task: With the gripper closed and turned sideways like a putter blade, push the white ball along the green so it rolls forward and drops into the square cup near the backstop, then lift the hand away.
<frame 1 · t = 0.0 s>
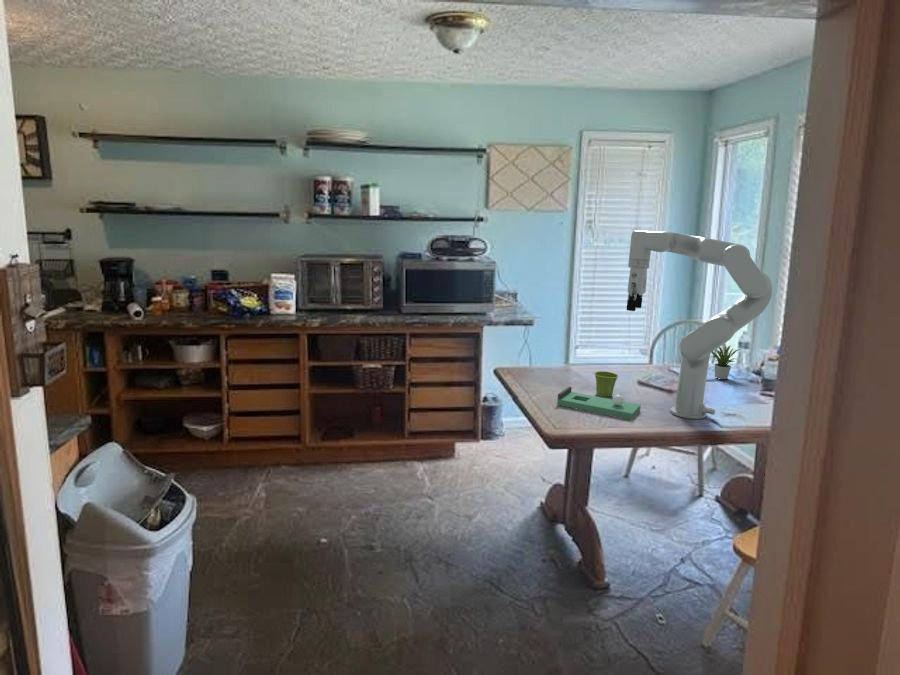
hand: (633, 309, 247), 37 cm above the table, tool pointing down, fingers open, 9 cm apart
green: (598, 408, 245), on the table
ball: (618, 400, 241), point 4 cm above the table, touching green
plant pot: (604, 395, 263), on the table
house plant: (723, 378, 300), on the table
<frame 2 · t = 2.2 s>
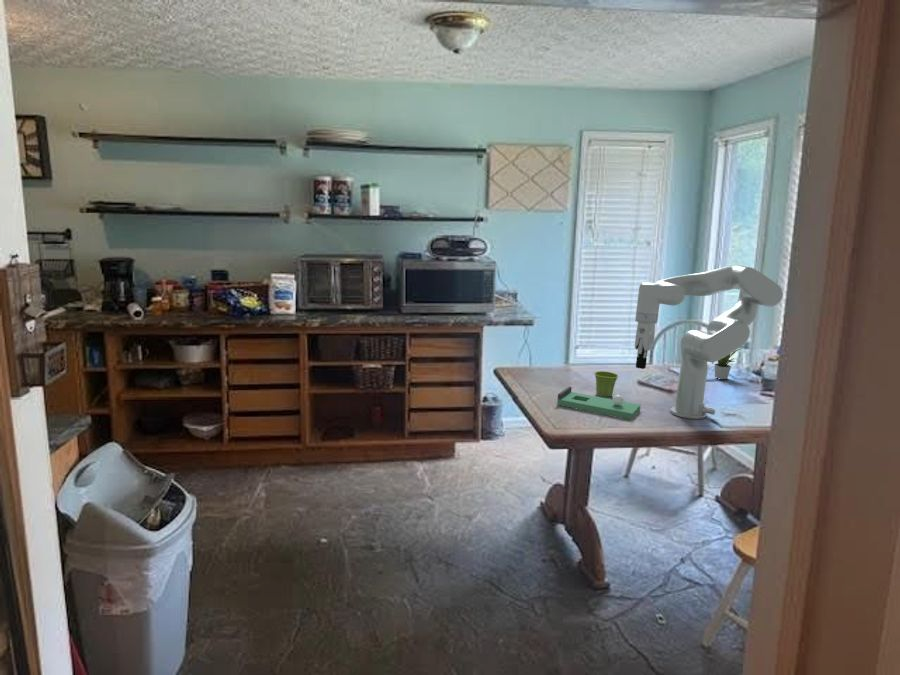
hand: (640, 367, 235), 18 cm above the table, tool pointing down, fingers closed
nothing on the table moved.
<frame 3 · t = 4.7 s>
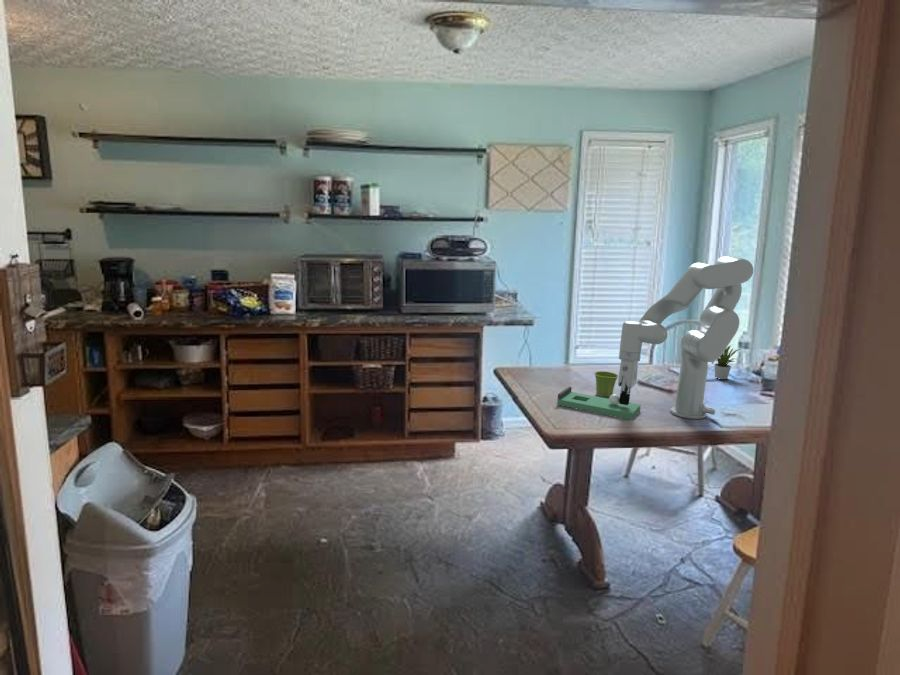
hand: (624, 403, 240), 4 cm above the table, tool pointing down, fingers closed
ball: (614, 399, 241), point 4 cm above the table, tilted 37°, touching green
everything else where it was.
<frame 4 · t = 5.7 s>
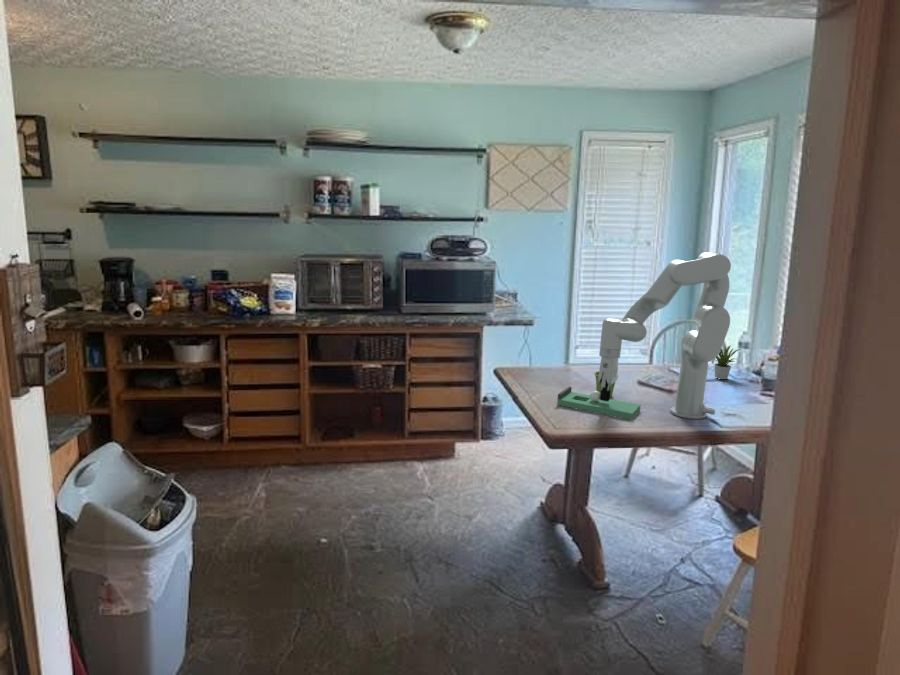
hand: (604, 400, 243), 4 cm above the table, tool pointing down, fingers closed
ball: (595, 396, 245), point 4 cm above the table, tilted 119°, touching green
everything else where it was.
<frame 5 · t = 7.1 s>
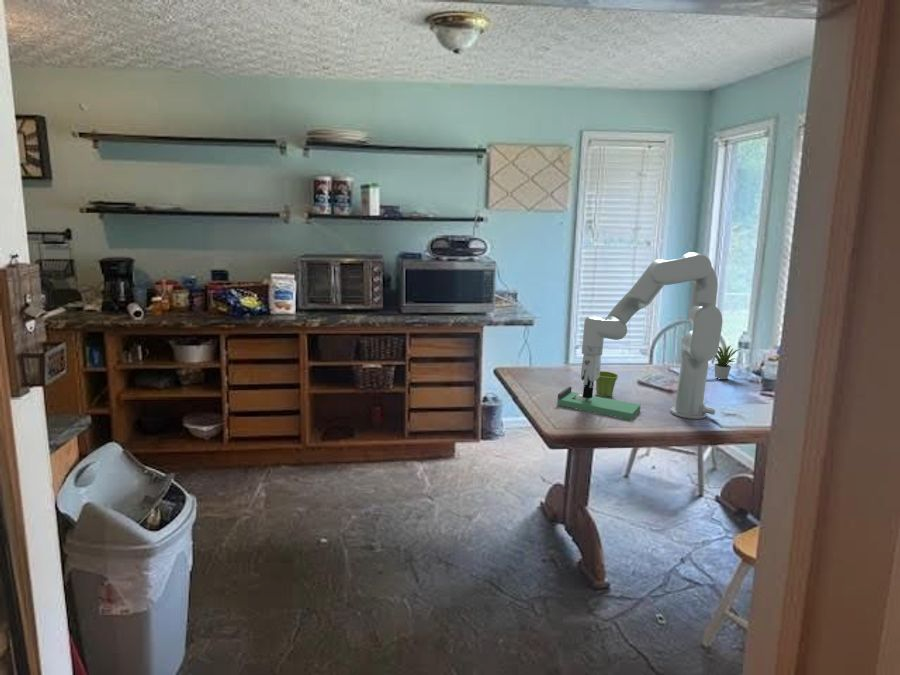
hand: (587, 397, 246), 3 cm above the table, tool pointing down, fingers closed
ball: (580, 399, 248), point 2 cm above the table, tilted 74°, touching gripper
everything else where it was.
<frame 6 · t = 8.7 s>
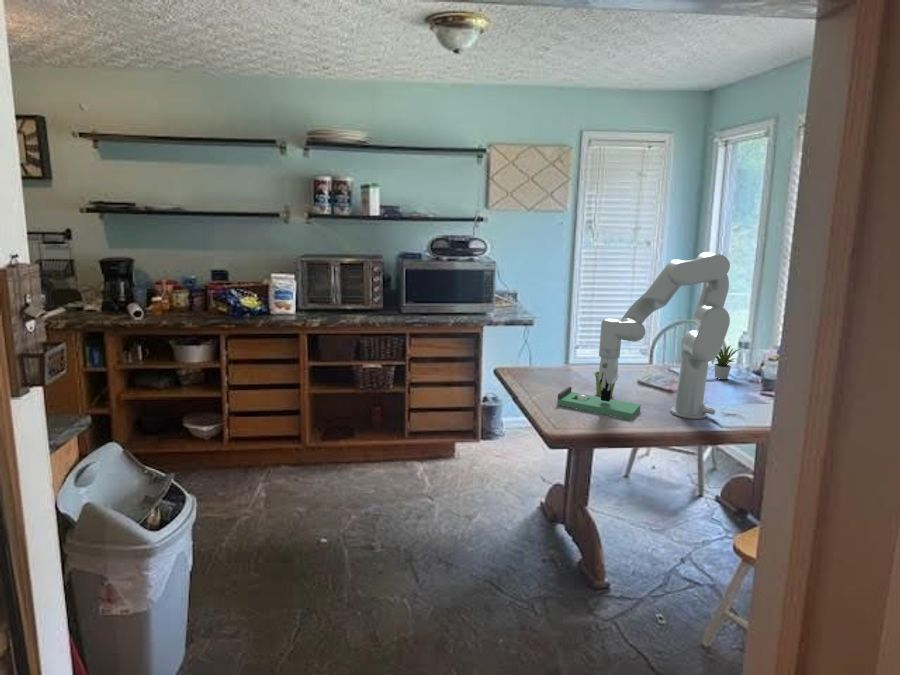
hand: (605, 400, 243), 3 cm above the table, tool pointing down, fingers closed
ball: (582, 399, 247), point 2 cm above the table, tilted 49°
everything else where it was.
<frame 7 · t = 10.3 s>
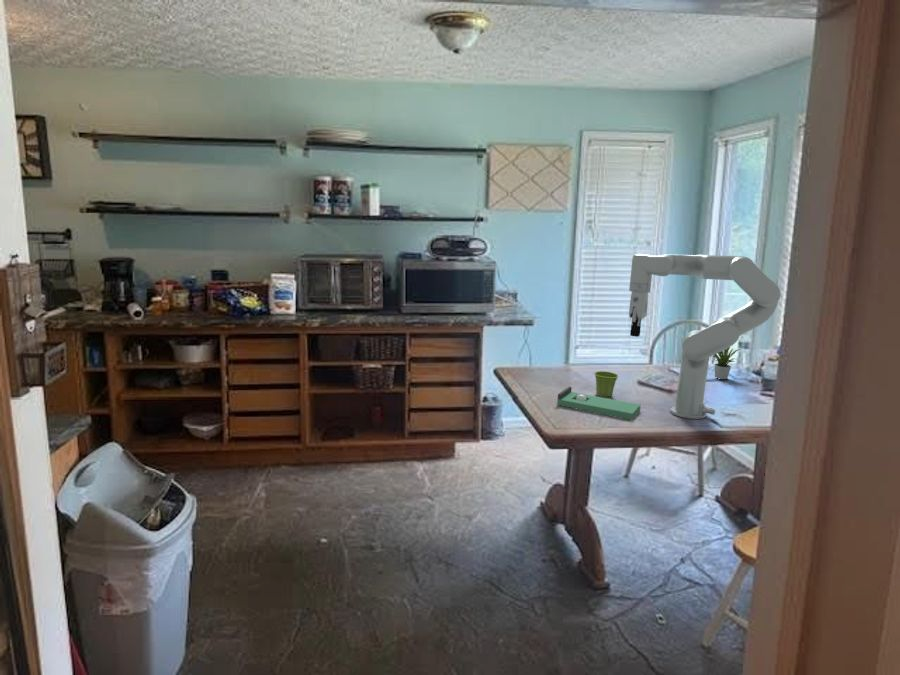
hand: (634, 335, 246), 27 cm above the table, tool pointing down, fingers closed
ball: (581, 399, 247), point 2 cm above the table, tilted 65°
everything else where it was.
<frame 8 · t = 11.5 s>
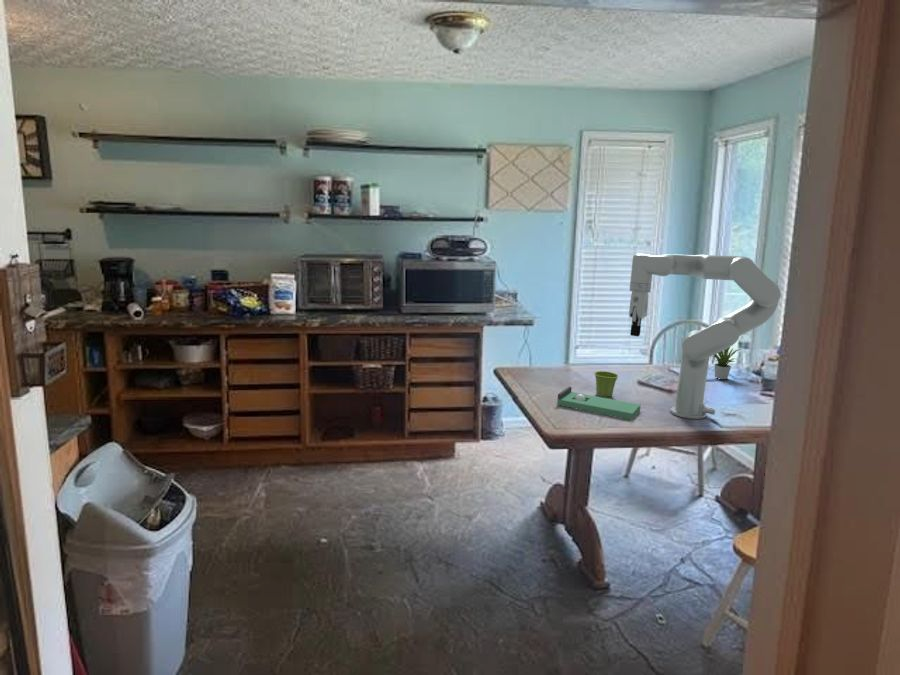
hand: (634, 335, 246), 27 cm above the table, tool pointing down, fingers closed
ball: (579, 399, 248), point 2 cm above the table, tilted 77°
everything else where it was.
at the end: ball 0.3 cm from the target spot on the green, point 2.0 cm above the green's base; the gripper is holding nothing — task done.
